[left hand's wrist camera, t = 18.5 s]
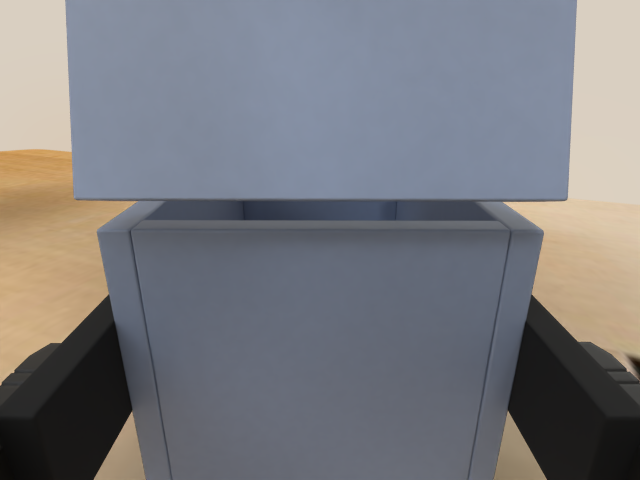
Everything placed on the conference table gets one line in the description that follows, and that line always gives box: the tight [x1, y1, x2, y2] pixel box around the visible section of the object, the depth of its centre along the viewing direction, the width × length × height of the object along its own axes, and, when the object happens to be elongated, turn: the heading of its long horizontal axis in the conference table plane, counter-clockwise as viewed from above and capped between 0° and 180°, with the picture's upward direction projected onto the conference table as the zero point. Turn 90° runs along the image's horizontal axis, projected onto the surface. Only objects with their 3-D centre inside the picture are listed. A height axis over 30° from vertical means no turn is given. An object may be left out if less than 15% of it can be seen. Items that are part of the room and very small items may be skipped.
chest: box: [97, 201, 544, 480], centre depth 18 cm, size 14×10×10 cm
